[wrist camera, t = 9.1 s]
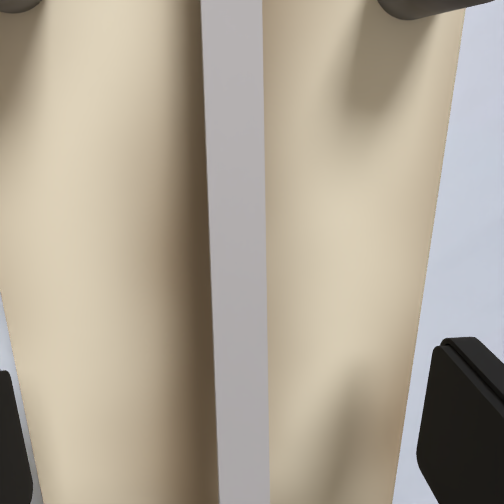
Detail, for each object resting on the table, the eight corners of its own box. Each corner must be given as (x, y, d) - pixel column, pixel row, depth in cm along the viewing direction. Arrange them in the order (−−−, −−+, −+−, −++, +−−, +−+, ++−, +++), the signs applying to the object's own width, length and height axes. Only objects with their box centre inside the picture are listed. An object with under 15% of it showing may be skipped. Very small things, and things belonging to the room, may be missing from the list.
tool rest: (459, -292, 9) (667, -579, 5) (352, 592, 19) (397, 742, 15) (-75, -339, 8) (-342, -741, 4) (93, 620, 18) (60, 791, 14)
